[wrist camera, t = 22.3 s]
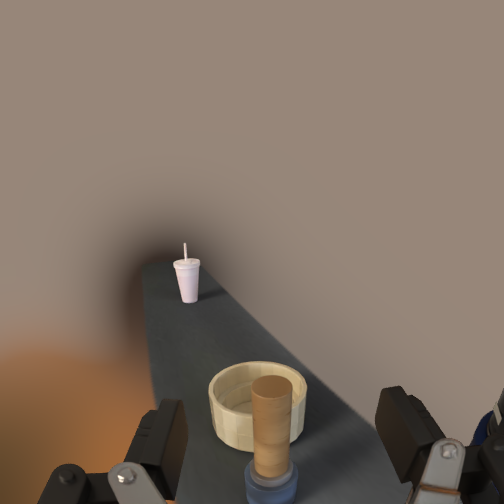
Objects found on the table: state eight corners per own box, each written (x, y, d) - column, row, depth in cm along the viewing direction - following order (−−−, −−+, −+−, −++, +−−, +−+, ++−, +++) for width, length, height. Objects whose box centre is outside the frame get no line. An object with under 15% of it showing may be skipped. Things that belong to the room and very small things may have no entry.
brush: (298, 480, 24) (308, 370, 21) (291, 515, 20) (301, 410, 17) (253, 474, 26) (247, 365, 23) (240, 508, 21) (228, 402, 18)
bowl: (308, 402, 37) (311, 364, 36) (296, 461, 27) (299, 423, 26) (230, 393, 40) (226, 357, 38) (200, 445, 30) (193, 407, 28)
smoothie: (200, 294, 80) (196, 240, 77) (205, 302, 74) (201, 244, 71) (175, 297, 78) (170, 242, 75) (179, 306, 72) (173, 247, 69)
